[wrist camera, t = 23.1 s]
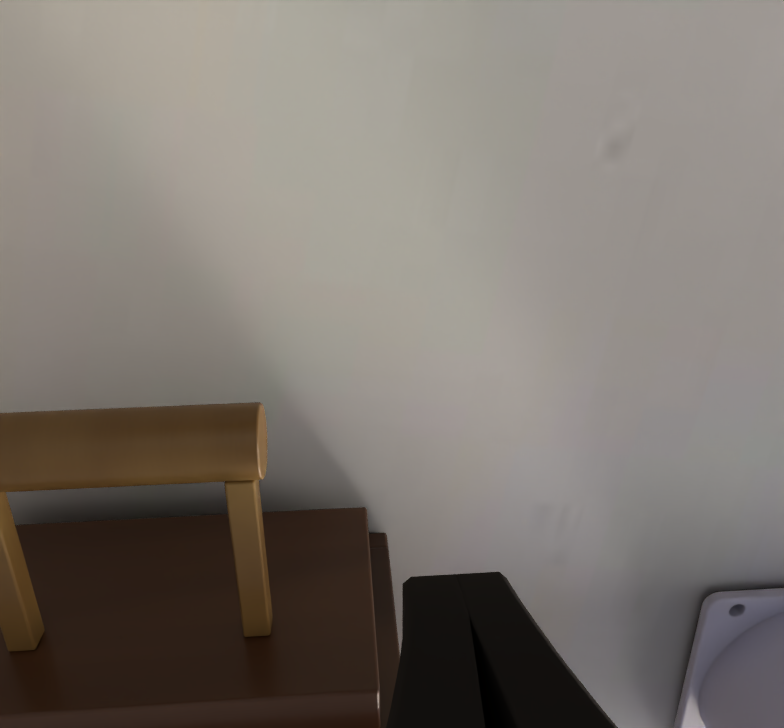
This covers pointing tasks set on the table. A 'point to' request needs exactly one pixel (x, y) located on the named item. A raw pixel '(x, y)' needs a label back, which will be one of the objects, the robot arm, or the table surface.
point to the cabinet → (384, 622)
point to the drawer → (178, 584)
